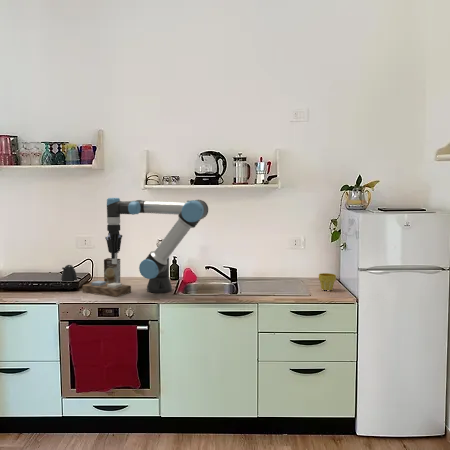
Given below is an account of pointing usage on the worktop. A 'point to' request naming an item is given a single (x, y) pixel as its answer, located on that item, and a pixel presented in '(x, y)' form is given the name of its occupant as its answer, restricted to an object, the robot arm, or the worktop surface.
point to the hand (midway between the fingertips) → (114, 263)
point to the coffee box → (111, 271)
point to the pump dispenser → (68, 273)
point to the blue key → (98, 283)
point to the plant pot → (327, 281)
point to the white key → (114, 285)
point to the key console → (106, 289)
